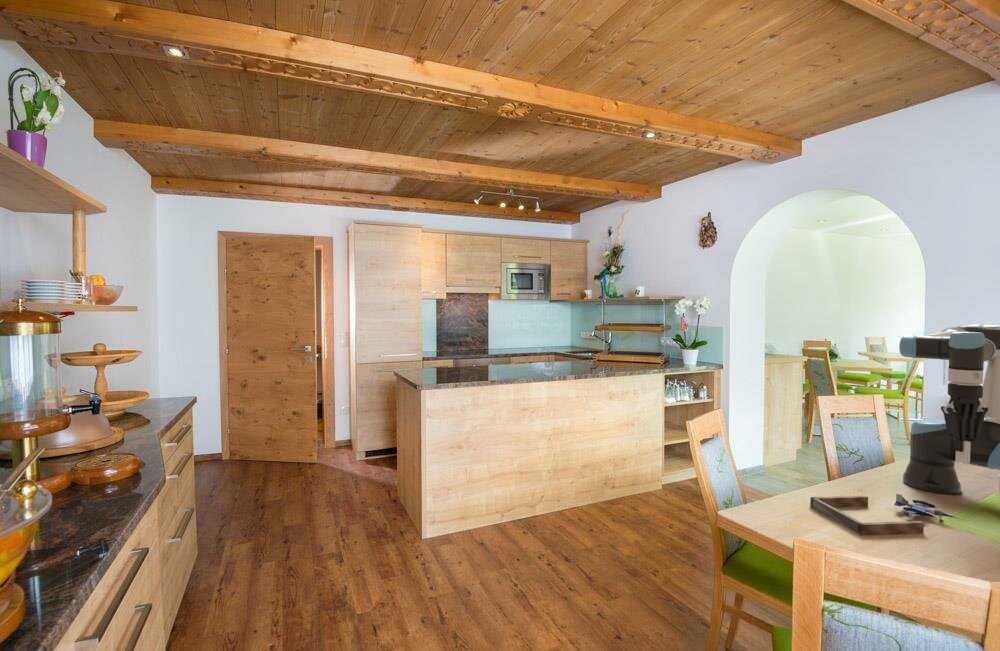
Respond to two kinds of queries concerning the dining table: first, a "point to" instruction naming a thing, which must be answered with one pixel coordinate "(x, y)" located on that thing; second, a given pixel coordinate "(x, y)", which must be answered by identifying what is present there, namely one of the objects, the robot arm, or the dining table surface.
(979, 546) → the dining table surface
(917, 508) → the toy airplane
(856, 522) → the frame
